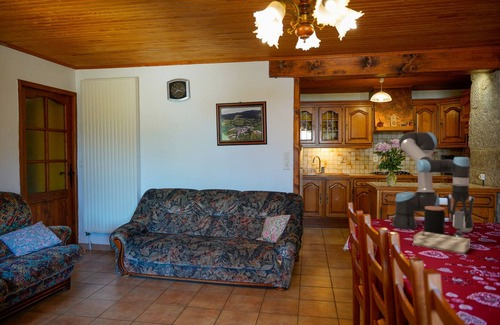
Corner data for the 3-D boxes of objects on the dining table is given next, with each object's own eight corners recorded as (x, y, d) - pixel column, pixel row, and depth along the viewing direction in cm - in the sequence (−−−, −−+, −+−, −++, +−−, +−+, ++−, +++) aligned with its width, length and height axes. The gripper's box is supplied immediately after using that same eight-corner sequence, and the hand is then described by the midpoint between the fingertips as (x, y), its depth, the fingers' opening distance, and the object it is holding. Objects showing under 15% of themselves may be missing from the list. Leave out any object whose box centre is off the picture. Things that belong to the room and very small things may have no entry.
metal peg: (452, 237, 183) (453, 211, 182) (454, 235, 187) (455, 210, 186) (462, 239, 180) (463, 213, 179) (464, 237, 183) (465, 211, 183)
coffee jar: (447, 240, 191) (448, 209, 190) (427, 239, 193) (427, 208, 192) (440, 235, 201) (441, 206, 200) (421, 234, 203) (422, 205, 202)
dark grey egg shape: (467, 229, 216) (468, 206, 215) (476, 233, 206) (477, 209, 205) (451, 229, 217) (451, 206, 216) (459, 233, 207) (460, 209, 206)
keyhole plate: (413, 244, 181) (413, 235, 181) (421, 239, 192) (421, 231, 191) (464, 254, 165) (464, 244, 165) (469, 248, 175) (470, 239, 175)
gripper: (441, 184, 185) (440, 225, 186) (478, 187, 173) (476, 230, 174) (444, 183, 190) (443, 223, 192) (480, 185, 179) (478, 228, 180)
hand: (459, 226), depth 183 cm, fingers closed on metal peg, 4 cm apart
